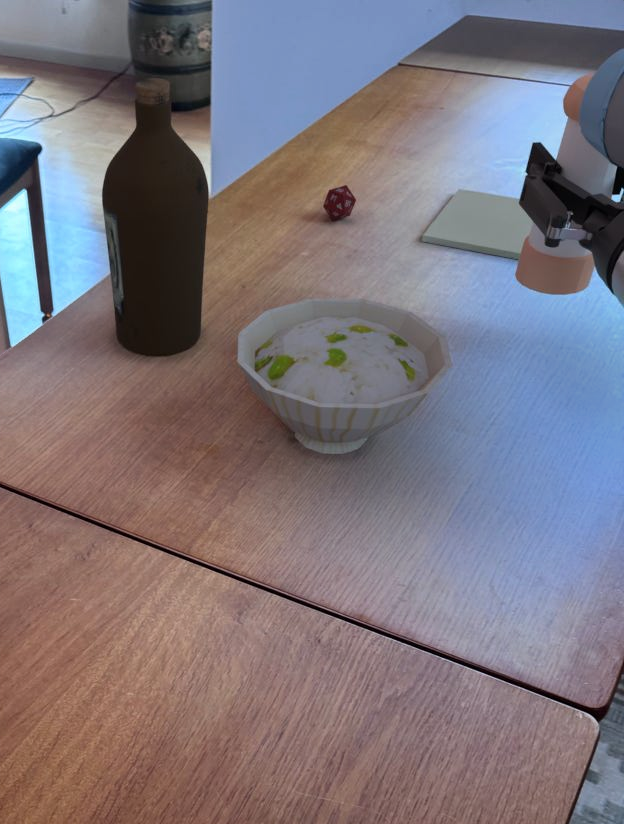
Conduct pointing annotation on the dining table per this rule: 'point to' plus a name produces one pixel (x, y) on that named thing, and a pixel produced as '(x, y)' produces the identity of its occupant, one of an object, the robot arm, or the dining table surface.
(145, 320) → the olive oil
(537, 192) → the robot arm
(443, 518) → the dining table surface
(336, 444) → the bowl
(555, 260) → the salt shaker
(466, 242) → the tile
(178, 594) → the dining table surface
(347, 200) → the dice
